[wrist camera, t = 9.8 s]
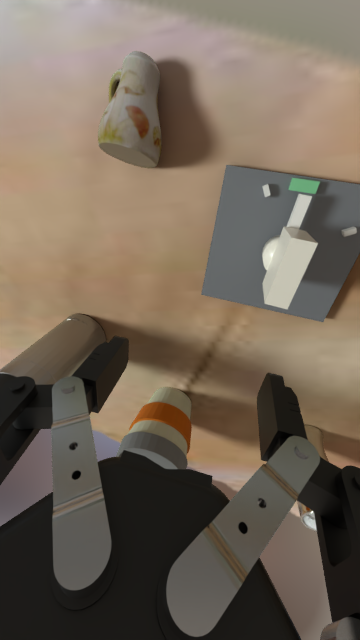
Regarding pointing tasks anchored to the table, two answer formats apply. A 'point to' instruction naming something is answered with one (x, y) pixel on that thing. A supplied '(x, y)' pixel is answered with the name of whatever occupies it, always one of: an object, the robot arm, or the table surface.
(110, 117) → the mug
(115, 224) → the table surface
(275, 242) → the peg knob
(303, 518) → the beer glass
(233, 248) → the dial board
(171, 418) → the reusable coffee cup
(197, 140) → the table surface
